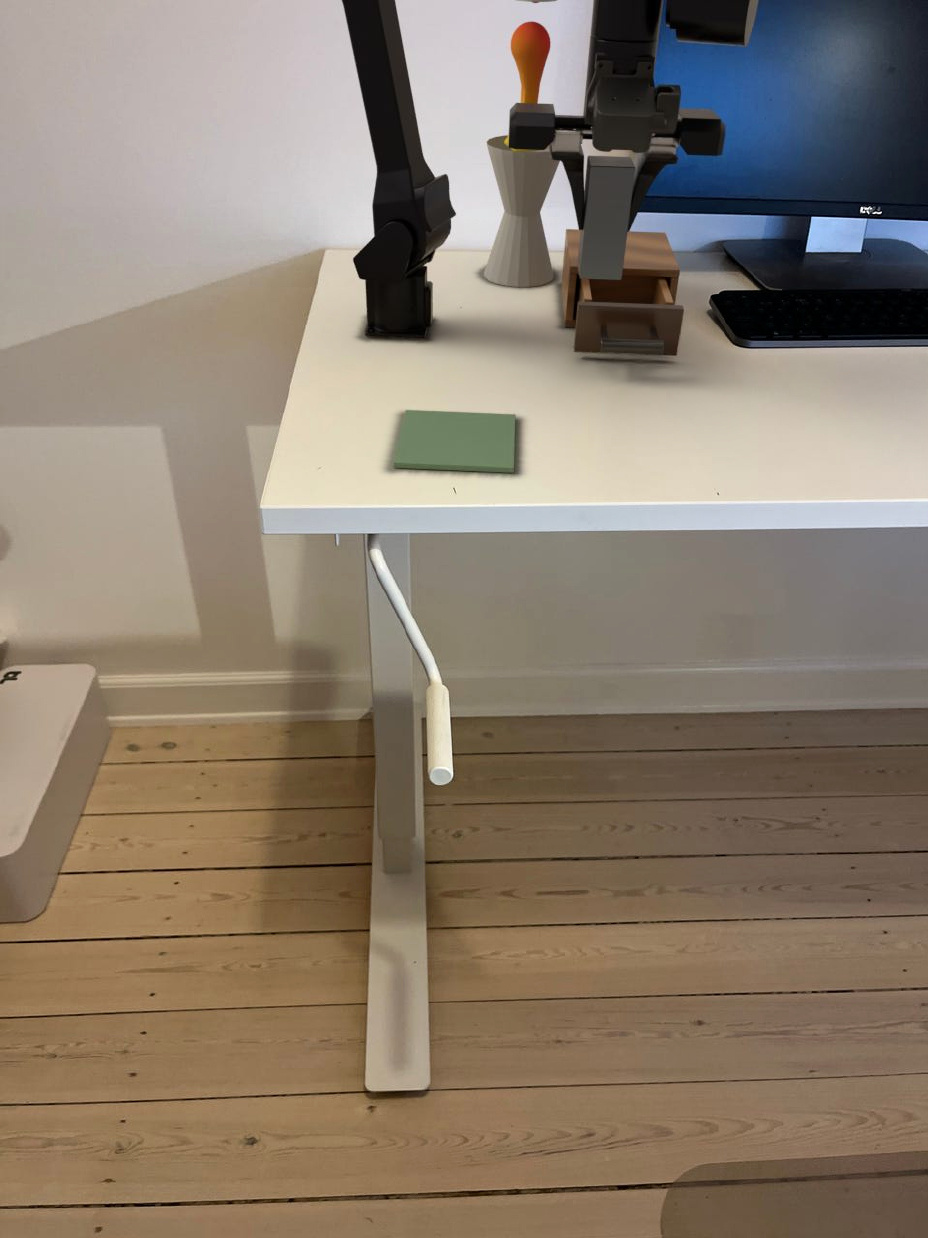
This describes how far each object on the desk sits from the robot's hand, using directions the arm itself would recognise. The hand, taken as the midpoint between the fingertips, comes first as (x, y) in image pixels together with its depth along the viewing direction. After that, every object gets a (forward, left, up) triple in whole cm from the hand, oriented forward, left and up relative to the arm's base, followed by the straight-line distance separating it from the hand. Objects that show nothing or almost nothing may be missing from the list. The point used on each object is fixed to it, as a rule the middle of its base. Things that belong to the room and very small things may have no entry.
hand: (603, 229), depth 90 cm
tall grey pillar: (0, 0, -4) cm, 4 cm away
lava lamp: (-7, +26, -13) cm, 30 cm away
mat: (-12, -19, -13) cm, 26 cm away
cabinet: (+4, +16, -13) cm, 21 cm away
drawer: (+4, +4, -12) cm, 13 cm away
